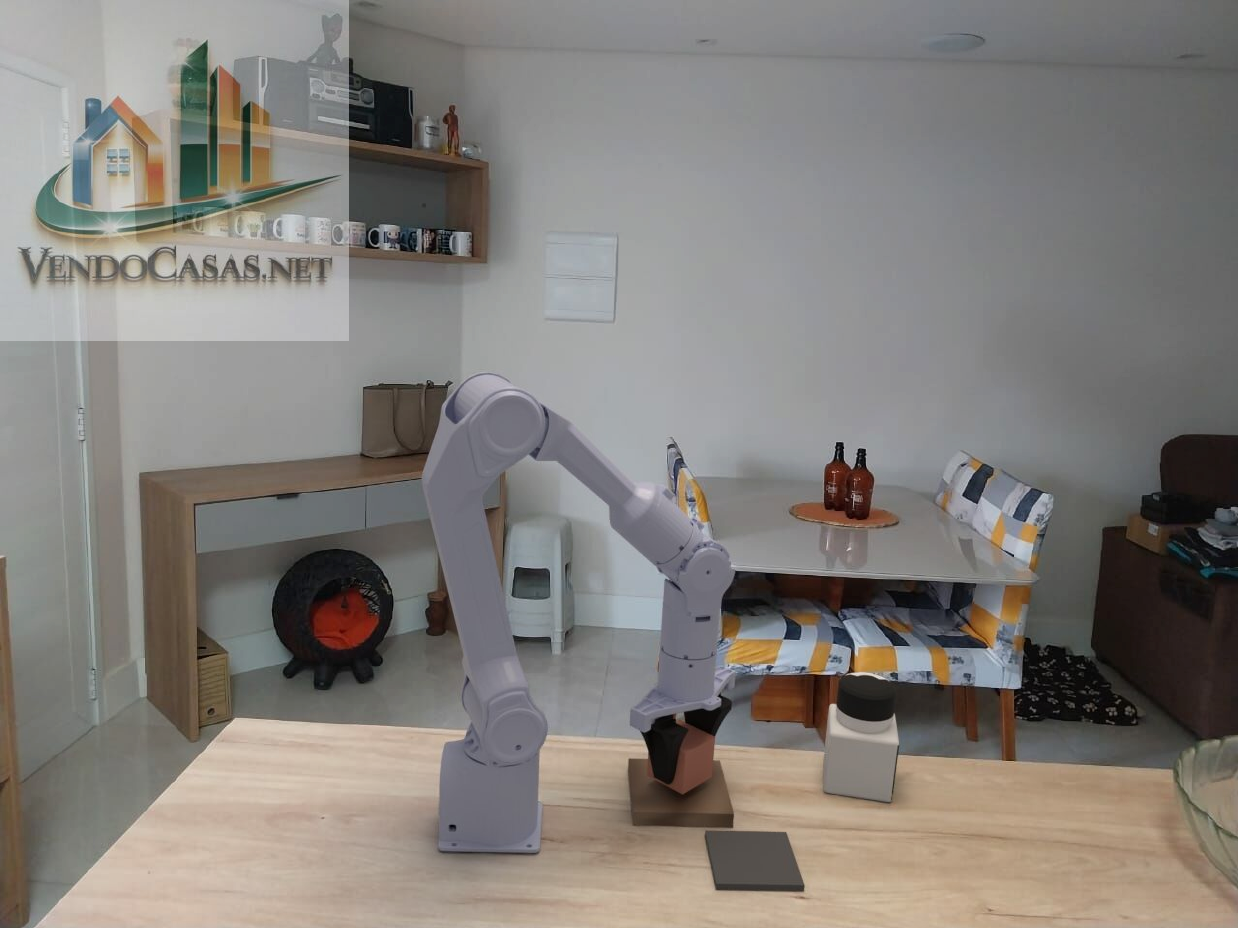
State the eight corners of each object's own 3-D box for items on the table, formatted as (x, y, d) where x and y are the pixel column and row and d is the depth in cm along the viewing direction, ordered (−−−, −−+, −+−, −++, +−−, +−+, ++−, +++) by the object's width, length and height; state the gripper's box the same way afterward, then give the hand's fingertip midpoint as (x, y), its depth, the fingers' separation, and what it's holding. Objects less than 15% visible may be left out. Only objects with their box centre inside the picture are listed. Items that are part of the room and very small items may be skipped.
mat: (715, 889, 87) (716, 883, 87) (704, 835, 95) (705, 830, 95) (804, 890, 88) (804, 884, 87) (785, 837, 95) (786, 831, 95)
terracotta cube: (682, 794, 97) (685, 752, 96) (646, 775, 100) (649, 734, 99) (712, 776, 101) (715, 736, 100) (676, 758, 104) (679, 719, 103)
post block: (632, 825, 96) (636, 765, 95) (627, 770, 106) (630, 716, 104) (732, 826, 97) (737, 768, 95) (718, 772, 106) (723, 718, 105)
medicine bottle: (892, 804, 102) (905, 699, 99) (823, 793, 103) (834, 690, 100) (887, 769, 109) (900, 670, 106) (823, 759, 110) (833, 661, 107)
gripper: (672, 683, 89) (663, 814, 93) (762, 641, 100) (752, 760, 103) (616, 658, 94) (610, 783, 97) (708, 620, 104) (700, 735, 108)
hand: (679, 769), depth 100 cm, fingers closed on terracotta cube, 5 cm apart
